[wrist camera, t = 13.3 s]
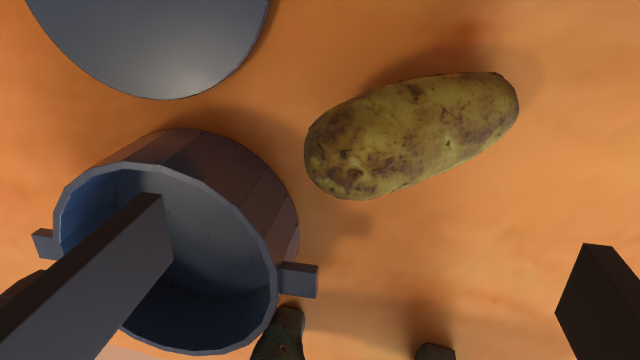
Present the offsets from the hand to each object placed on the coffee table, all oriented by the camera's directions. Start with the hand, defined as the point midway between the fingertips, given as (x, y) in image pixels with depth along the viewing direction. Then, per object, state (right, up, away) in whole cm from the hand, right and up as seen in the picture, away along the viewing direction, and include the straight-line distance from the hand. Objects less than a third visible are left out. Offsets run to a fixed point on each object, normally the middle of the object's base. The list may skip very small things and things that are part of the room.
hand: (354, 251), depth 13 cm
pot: (-12, -2, +23) cm, 26 cm away
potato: (+5, +7, +16) cm, 18 cm away
